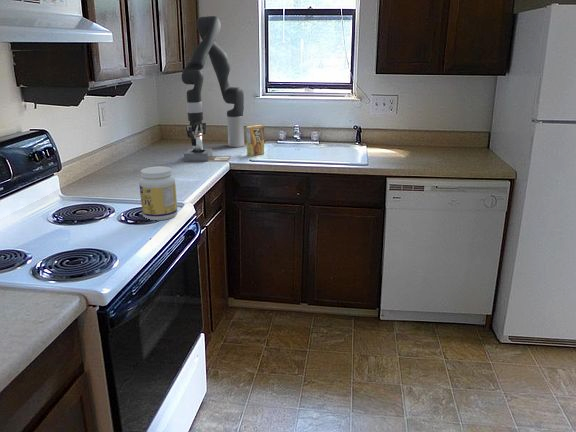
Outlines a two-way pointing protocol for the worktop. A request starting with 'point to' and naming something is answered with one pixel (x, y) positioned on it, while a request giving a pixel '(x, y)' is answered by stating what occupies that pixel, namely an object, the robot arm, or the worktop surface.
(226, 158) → the board
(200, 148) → the clear glass
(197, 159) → the housing
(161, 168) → the supplement tub
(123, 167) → the worktop surface
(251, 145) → the candy box
